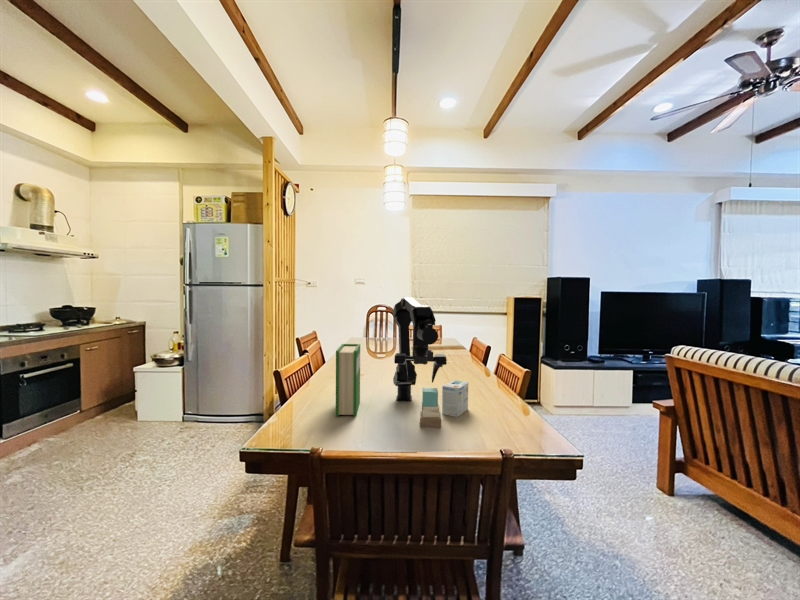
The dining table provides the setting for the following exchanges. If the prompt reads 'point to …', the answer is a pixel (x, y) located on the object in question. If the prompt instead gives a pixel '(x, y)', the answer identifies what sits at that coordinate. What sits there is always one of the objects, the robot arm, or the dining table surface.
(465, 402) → the light bulb box
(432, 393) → the teal cube
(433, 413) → the maple block
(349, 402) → the hardback book
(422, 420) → the walnut slab
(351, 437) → the dining table surface
